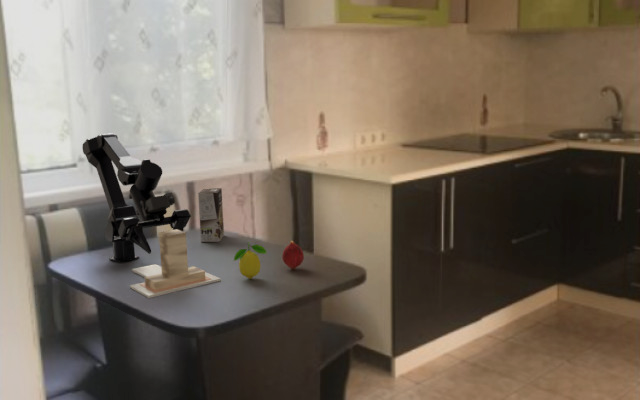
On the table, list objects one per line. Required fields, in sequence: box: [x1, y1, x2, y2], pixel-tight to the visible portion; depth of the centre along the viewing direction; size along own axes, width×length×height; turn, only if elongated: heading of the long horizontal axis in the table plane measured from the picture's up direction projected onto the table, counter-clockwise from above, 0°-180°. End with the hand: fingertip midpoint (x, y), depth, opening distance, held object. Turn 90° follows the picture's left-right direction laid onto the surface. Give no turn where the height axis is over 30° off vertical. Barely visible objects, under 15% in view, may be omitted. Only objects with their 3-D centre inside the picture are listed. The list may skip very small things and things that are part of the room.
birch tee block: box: [144, 229, 206, 290], centre depth 171 cm, size 6×14×13 cm, turn 129°
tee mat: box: [129, 263, 221, 299], centre depth 178 cm, size 25×20×1 cm
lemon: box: [233, 241, 268, 280], centre depth 174 cm, size 7×6×10 cm
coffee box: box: [198, 187, 225, 243], centre depth 219 cm, size 9×6×16 cm
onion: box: [281, 240, 305, 270], centre depth 182 cm, size 6×6×8 cm
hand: (166, 249), depth 174 cm, fingers open, 9 cm apart
